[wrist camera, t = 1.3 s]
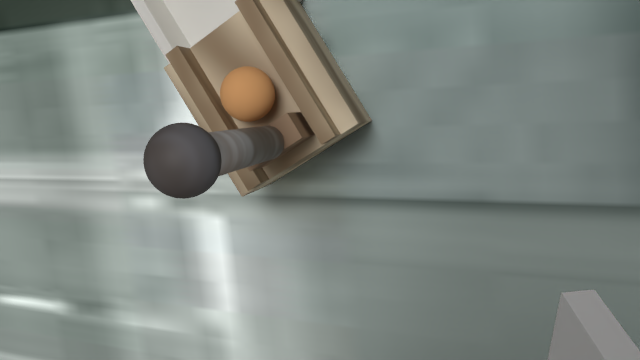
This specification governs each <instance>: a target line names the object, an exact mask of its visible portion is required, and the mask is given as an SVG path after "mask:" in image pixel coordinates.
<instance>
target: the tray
mask: <svg viewBox="0 0 640 360" xmlns="http://www.w3.org/2000/svg"><path fill="white" fill-rule="evenodd" d="M235 1H236V0H131V2H132V4H133V5H134V7H135V8H136V10H137V12H138V13H139V15H140V17H141V18H142V20H143V22H144V23H145V25H146V27H147V28H148V30H149V32H150V33H151V35H152V36H153V38H154V40H155V41H156V43H157V45H158V46H159V48H160V50H161V51H162V53H163V55H164V56H165V58H166V60H167V61H168V63H169V64H170V62H169V60H168V58H167V57H166V54H167V53H168V52H169V51H171V50H172V49H173V48H175V47H176V46H181V47H186V48H191V47H192V46H194V45H195V44H196V43H198V42H199V41H200V40H202V39H203V38H204V37H206V36H207V35H208V34H209V33H211V32H212V31H213V30H215V29H216V28H217V27H219V26H220V25H221V24H223V23H224V22H225V21H227V20H228V19H229V18H231V17H232V16H233V15H235V14H236V13H237V12H239V11H240V10H239V9H238V7H237V5H236V4H235ZM297 1H299V2H301V1H302V0H297Z"/></svg>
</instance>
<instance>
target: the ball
mask: <svg viewBox="0 0 640 360" xmlns="http://www.w3.org/2000/svg"><path fill="white" fill-rule="evenodd" d="M220 99H221V103H222V105H223V107H224V109H225V110H226V111H227V112H228V114H230V115H231V116H232V117H234V118H235V119H237V120H240V121H245V122H251V121H256V120H259V119H261V118H263V117H264V116H265V115H267V114H268V112H269V111H270V110H271V108H272V106H273V104H274V100H275V89H274V85H273V83H272V81H271V79H270V78H269V76H268V75H267V74H266V73H264V72H263V71H262V70H260V69H258V68H255V67H250V66H244V67H239V68H236V69H234V70H232V71H231V72H230V73H229V74H228V75H227V76H226V77H225V78H224V80H223V82H222V84H221V88H220Z"/></svg>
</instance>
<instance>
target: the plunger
mask: <svg viewBox="0 0 640 360" xmlns="http://www.w3.org/2000/svg"><path fill="white" fill-rule="evenodd" d="M314 135H315V134H314V132H313V130H312V129H311V127H310V126H309V124H308V122H307V121H306V119H305V117H304V116H303V114H302V112H292V113H286V114H284V115H283V116H281V117H280V118H278V119H277V120H275V121H274V122H272V123H271V124H269V125H266V126H257V127H249V128H240V129H232V130H224V131H215V132H207V131H206V130H204V129H203V128H201V127H199V126H197V125H194V124H190V123H175V124H171V125H168V126H166V127H164V128H162V129H160V130H159V131H158V132H156V133H155V134H154V135H153V136H152V137H151V139H150V140H149V142H148V144H147V146H146V149H145V152H144V168H145V172H146V174H147V177H148V179H149V180H150V182H151V183H152V184H153V185H154V187H156V188H157V189H158V190H159V191H161V192H162V193H164V194H166V195H168V196H171V197H175V198H191V197H195V196H198V195H200V194H202V193H204V192H205V191H207V190H208V189H209V188H210V187H211V186H212V185H213V184H214V183H215V181H216V180H217V178H218V176H220V175H224V174H227V173H230V172H233V171H237V170H240V169H243V168H246V167H247V168H248V170H249V171H253V170H256V169H259V168H262V167H265V166H267V165H269V164H270V163H272V162H273V161H275V160H276V159H278V158H280V157H281V156H283V155H284V154H286V153H287V152H289V151H290V150H292V149H294V148H295V147H297V146H298V145H300V144H301V143H303V142H304V141H306V140H308V139H309V138H311V137H312V136H314Z"/></svg>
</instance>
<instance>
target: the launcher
mask: <svg viewBox="0 0 640 360" xmlns="http://www.w3.org/2000/svg"><path fill="white" fill-rule="evenodd" d="M235 4H236V5H237V7H238V9H239V10H240V11H239V12H237V13H236V14H235V15H233V16H232V17H231V18H229V19H228V20H227V21H225V22H224V23H223V24H221V25H220V26H219V27H217V28H216V29H215V30H213V31H212V32H211V33H209V34H208V35H207V36H206V37H204V38H203V39H202V40H200V41H199V42H198V43H196V44H195V45H194V46H192V47H191V48H186V47H181V46H176V47H175V48H173V49H172V50H171V51H169V52H168V53H167V54H166V57H167V58H168V60H169V62H170V64H168V65H167V66H166V67H164V69H165V71H166V72H167V74H168V76H169V77H170V79H171V81H172V82H173V84H174V86H175V87H176V89H177V91H178V92H179V94H180V95H181V97H182V99H183V100H184V102H185V104H186V105H187V107H188V109H189V110H190V112H191V114H192V115H193V117H194V119H195V120H196V122H197V123H198V125H199V127H201V128H203V129H204V130H206V131H207V132H215V131H224V130H232V129H240V128H249V127H257V126H266V125H269V124H271V123H272V122H274V121H275V120H277V119H278V118H280V117H281V116H283V115H284V114H286V113H292V112H302V114H303V116H304V117H305V119H306V121H307V122H308V124H309V126H310V127H311V129H312V130H313V132H314V134H315V135H314V136H312V137H311V138H309V139H308V140H306V141H304V142H303V143H301V144H300V145H298V146H297V147H295V148H294V149H292V150H290V151H289V152H287V153H286V154H284V155H283V156H281V157H280V158H278V159H276V160H275V161H273V162H272V163H270V164H269V165H267V166H265V167H262V168H259V169H256V170H253V171H249V170H248V168H247V167H246V168H243V169H240V170H237V171H233V172H230V173H228V175H229V176H230V178H231V179H232V181H233V183H234V184H235V186H236V188H237V189H238V191H239V193H240V194H241V196H245V195H247V194H249V193H251V192H254V191H256V190H258V189H260V188H263V187H265V186H267V185H269V184H271V183H273V182H275V181H276V180H278V179H279V178H281V177H283V176H284V175H286V174H287V173H289V172H291V171H292V170H294V169H295V168H297V167H298V166H300V165H302V164H303V163H305V162H306V161H308V160H310V159H311V158H313V157H314V156H316V155H318V154H319V153H321V152H322V151H324V150H326V149H327V148H329V147H330V146H332V145H334V144H335V143H337V142H338V141H340V140H342V139H343V138H345V137H346V136H348V135H350V134H351V133H353V132H354V131H356V130H357V129H359V128H361V127H362V126H364V125H365V124H367V123H369V122H370V121H372V120H371V118H370V117H369V115H368V113H367V112H366V110H365V109H364V107H363V105H362V104H361V102H360V100H359V99H358V97H357V95H356V94H355V92H354V90H353V89H352V87H351V86H350V84H349V82H348V81H347V79H346V77H345V76H344V74H343V72H342V71H341V69H340V67H339V66H338V64H337V63H336V61H335V59H334V58H333V56H332V54H331V53H330V51H329V49H328V48H327V46H326V45H325V43H324V41H323V40H322V38H321V36H320V35H319V33H318V31H317V30H316V28H315V26H314V25H313V23H312V22H311V20H310V18H309V17H308V15H307V13H306V12H305V10H304V8H303V7H302V5H301V3H300V2H299V1H297V0H236V1H235ZM244 66H250V67H255V68H258V69H260V70H262V71H263V72H264V73H266V74H267V75H268V76H269V78H270V79H271V81H272V83H273V85H274V89H275V100H274V104H273V106H272V108H271V110H270V111H269V112H268V114H267V115H265V116H264V117H263V118H261V119H259V120H256V121H251V122H245V121H240V120H237V119H235V118H234V117H232V116H231V115H230V114H228V112H227V111H226V110H225V109H224V107H223V105H222V103H221V99H220V88H221V84H222V82H223V80H224V78H225V77H226V76H227V75H228V74H229V73H230V72H231V71H232V70H234V69H236V68H239V67H244Z"/></svg>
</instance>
